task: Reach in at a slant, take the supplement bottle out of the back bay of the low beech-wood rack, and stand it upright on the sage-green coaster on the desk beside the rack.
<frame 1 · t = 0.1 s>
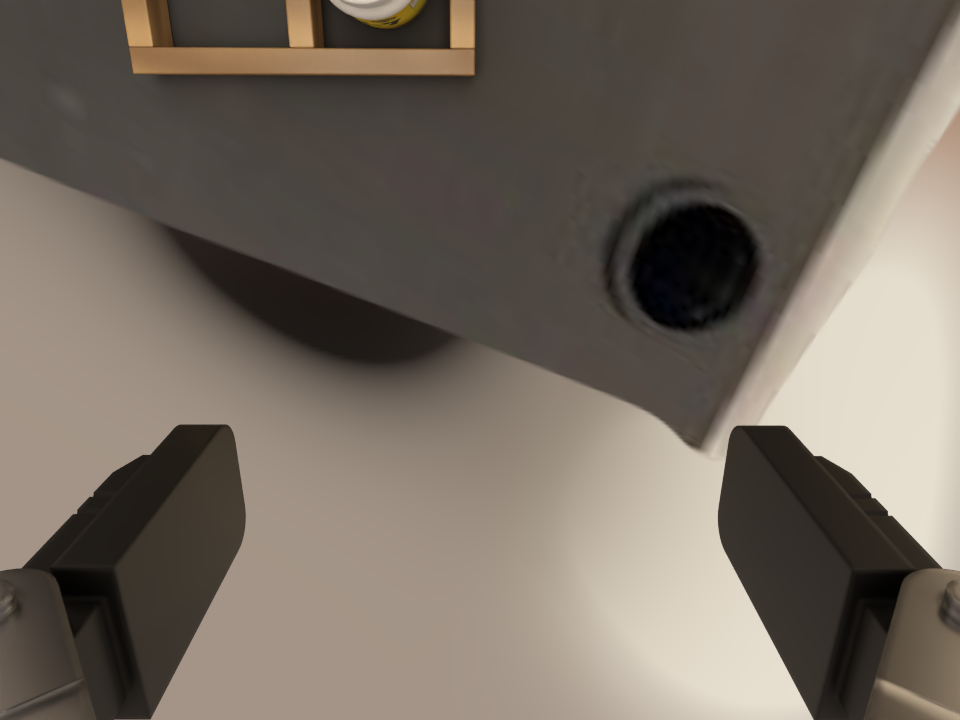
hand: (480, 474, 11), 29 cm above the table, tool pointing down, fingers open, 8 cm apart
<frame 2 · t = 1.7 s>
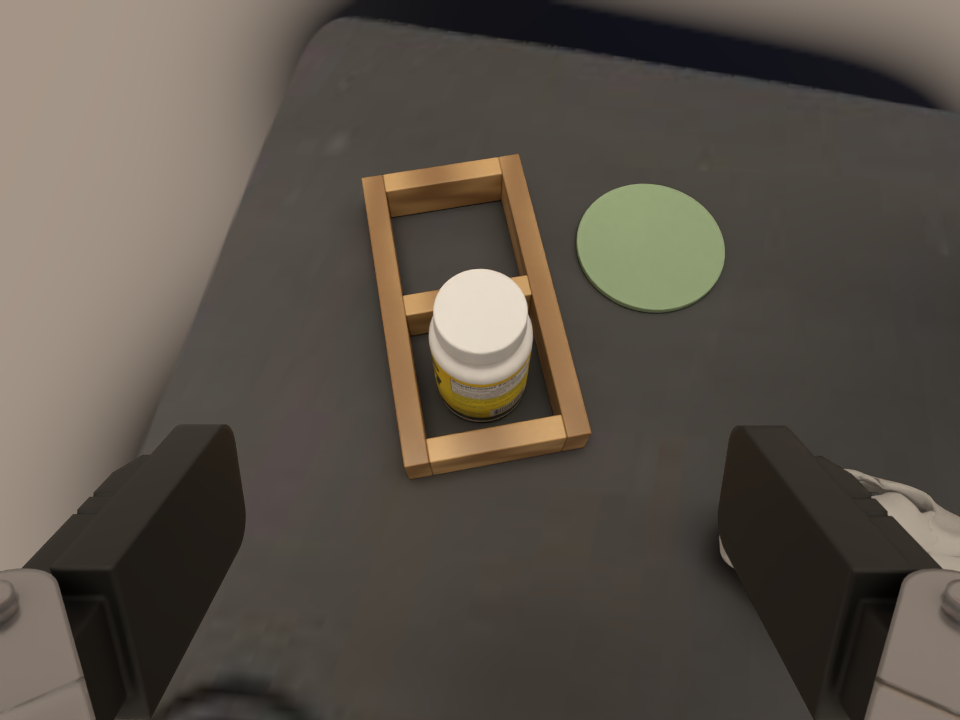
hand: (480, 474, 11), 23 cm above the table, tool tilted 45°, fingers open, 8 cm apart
rack: (468, 316, 38), on the table
skull: (841, 573, 32), on the table
supplement bottle: (481, 382, 36), resting in rack
coaster: (649, 247, 39), on the table
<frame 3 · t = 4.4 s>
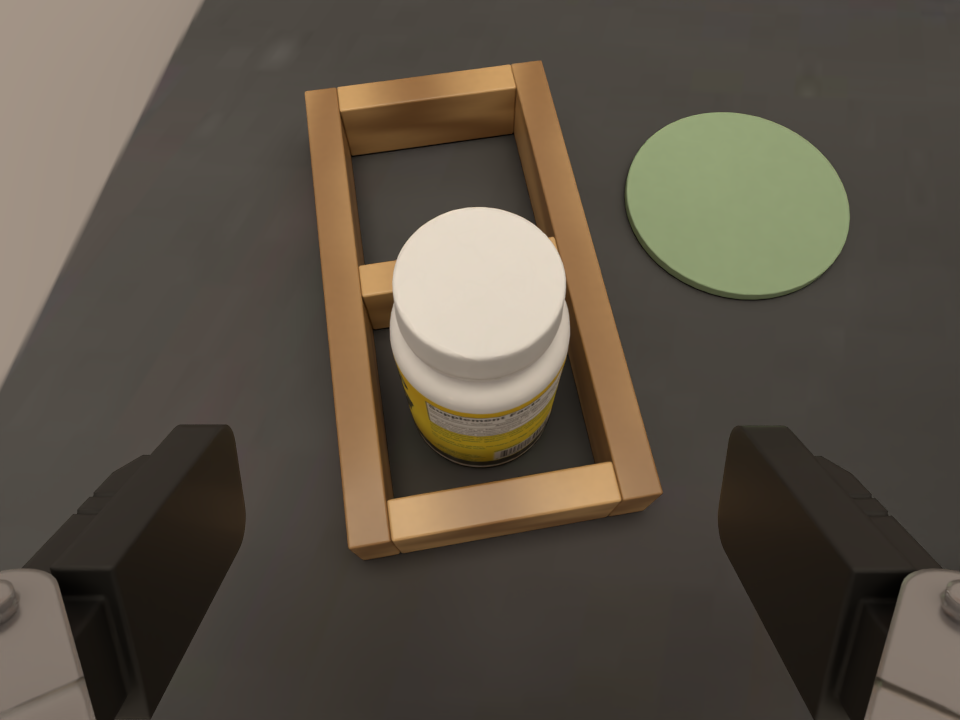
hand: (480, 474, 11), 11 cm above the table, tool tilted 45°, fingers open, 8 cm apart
rack: (462, 301, 25), on the table
supplement bottle: (480, 403, 23), resting in rack
coaster: (733, 203, 26), on the table
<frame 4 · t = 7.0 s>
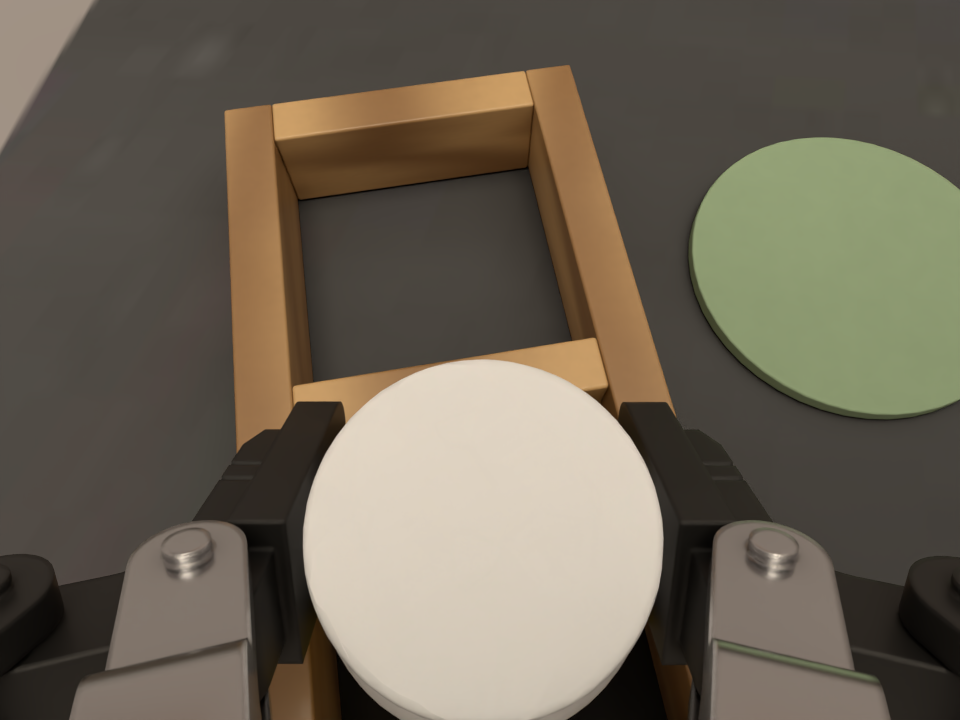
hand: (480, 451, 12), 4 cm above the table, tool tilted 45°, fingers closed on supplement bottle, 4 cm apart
rack: (454, 422, 17), on the table
supplement bottle: (481, 589, 15), resting in rack, touching gripper
coaster: (845, 270, 18), on the table
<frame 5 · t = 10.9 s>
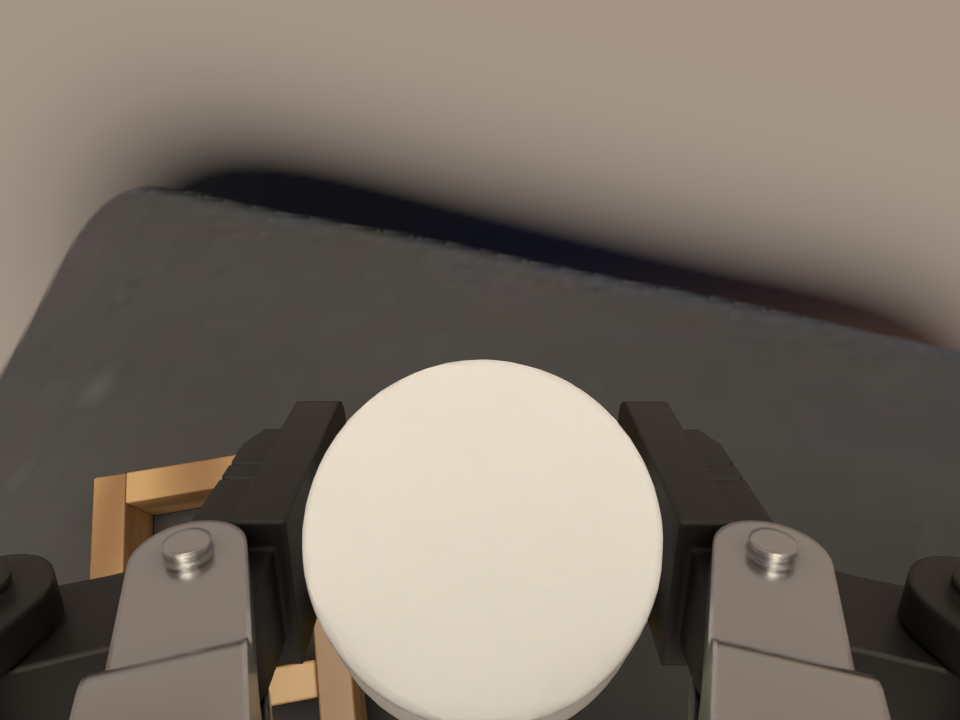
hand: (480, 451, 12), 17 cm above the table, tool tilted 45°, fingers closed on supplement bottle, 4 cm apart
rack: (242, 692, 25), on the table
supplement bottle: (481, 589, 15), point 12 cm above the table, touching gripper
when the fingers open (5 cm above the table, at t = 14.9 s): supplement bottle stays where it is, resting on coaster.
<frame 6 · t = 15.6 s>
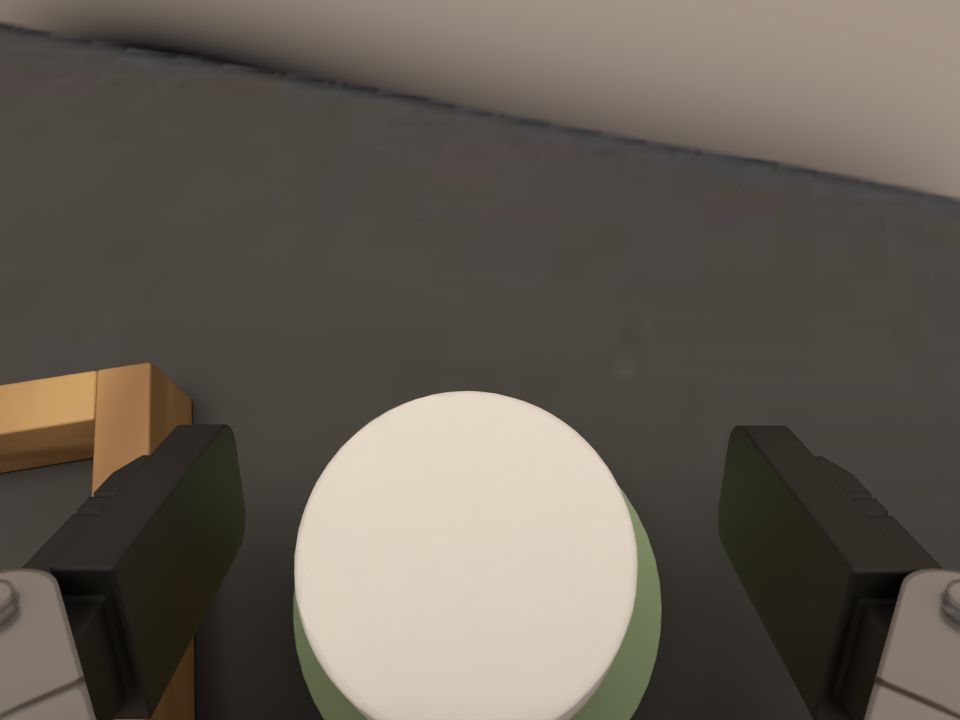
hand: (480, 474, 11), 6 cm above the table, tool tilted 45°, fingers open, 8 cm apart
supplement bottle: (473, 601, 16), resting on coaster
coaster: (477, 591, 16), on the table
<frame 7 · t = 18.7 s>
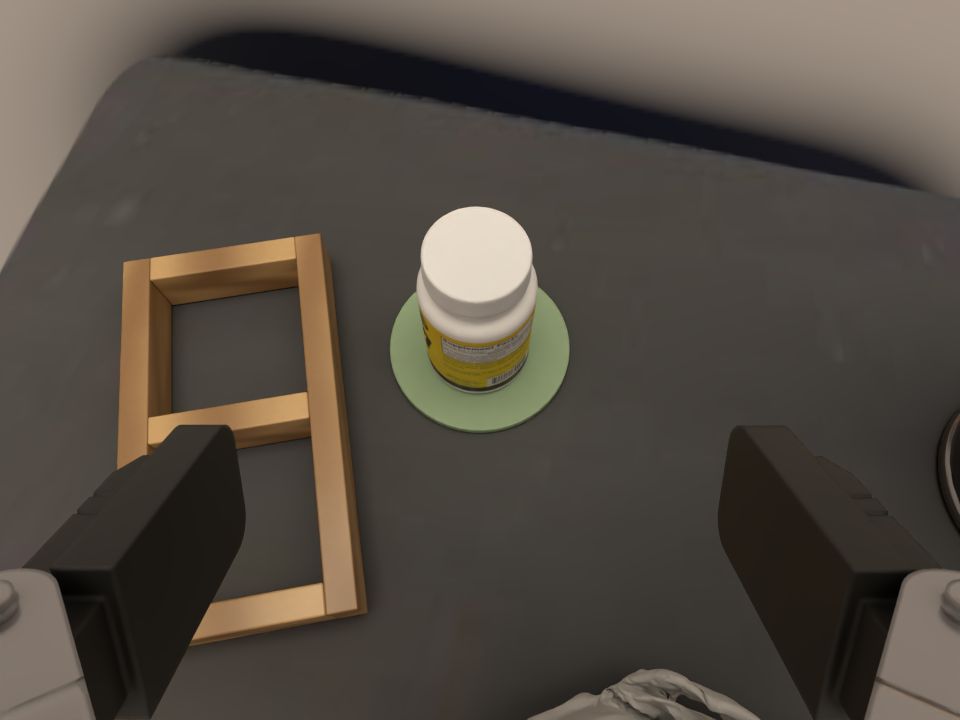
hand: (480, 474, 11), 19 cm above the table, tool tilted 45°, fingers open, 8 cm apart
rack: (247, 435, 31), on the table
supplement bottle: (477, 350, 32), resting on coaster
coaster: (479, 347, 32), on the table
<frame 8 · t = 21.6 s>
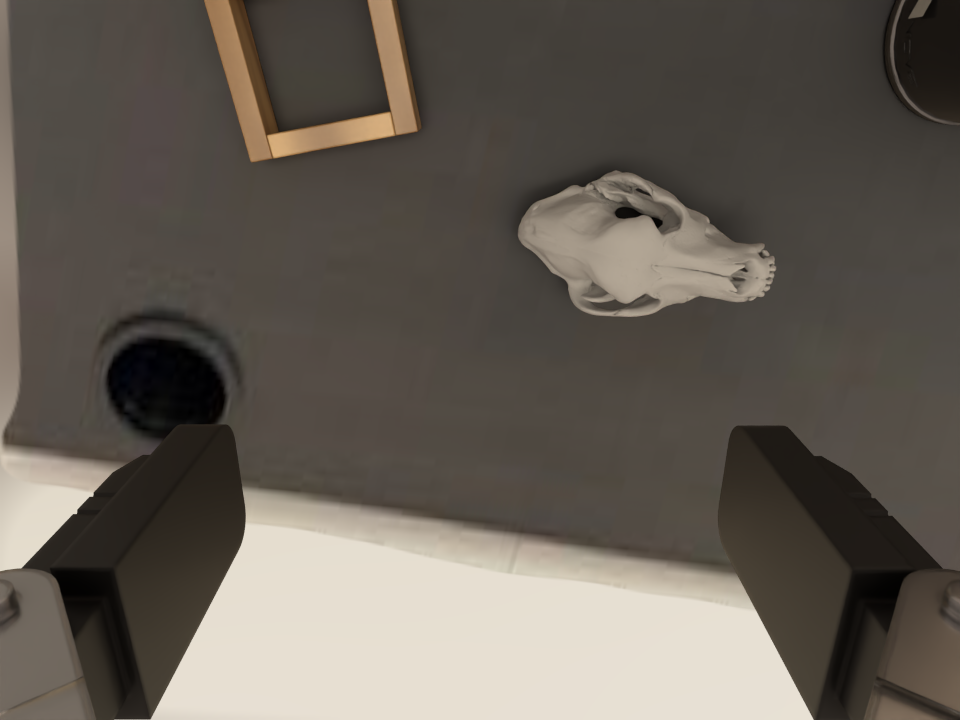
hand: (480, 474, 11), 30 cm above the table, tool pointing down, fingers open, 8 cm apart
skull: (625, 240, 40), on the table
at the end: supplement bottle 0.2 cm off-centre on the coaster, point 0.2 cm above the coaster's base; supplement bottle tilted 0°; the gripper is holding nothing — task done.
